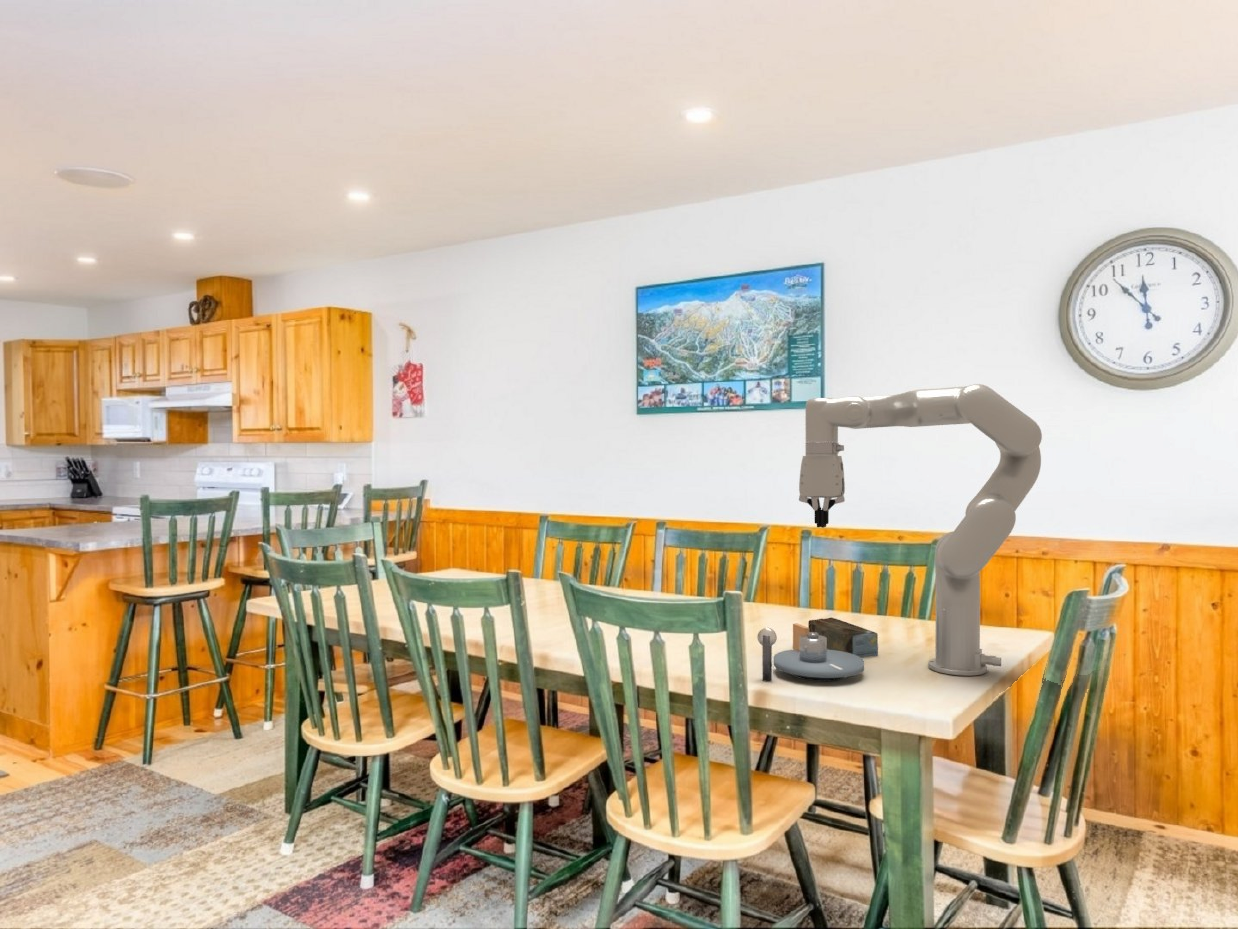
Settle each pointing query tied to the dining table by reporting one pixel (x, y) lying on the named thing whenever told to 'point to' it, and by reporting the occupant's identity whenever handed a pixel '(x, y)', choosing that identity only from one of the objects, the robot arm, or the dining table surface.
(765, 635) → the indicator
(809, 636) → the cover
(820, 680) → the pedestal
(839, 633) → the beverage carton
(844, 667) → the turntable
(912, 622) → the dining table surface
